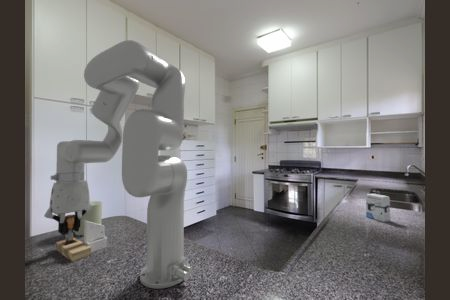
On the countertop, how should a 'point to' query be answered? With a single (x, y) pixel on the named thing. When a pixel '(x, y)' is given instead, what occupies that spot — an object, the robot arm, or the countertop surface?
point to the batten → (73, 249)
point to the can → (91, 216)
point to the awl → (69, 228)
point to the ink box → (378, 207)
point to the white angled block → (94, 236)
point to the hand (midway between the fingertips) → (69, 231)
